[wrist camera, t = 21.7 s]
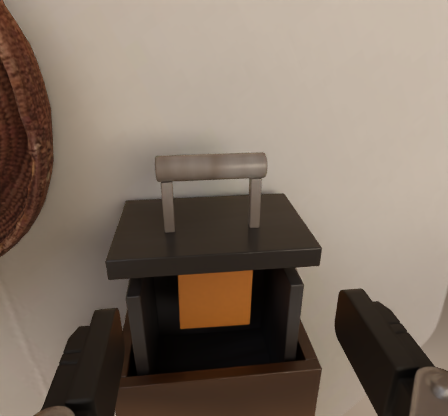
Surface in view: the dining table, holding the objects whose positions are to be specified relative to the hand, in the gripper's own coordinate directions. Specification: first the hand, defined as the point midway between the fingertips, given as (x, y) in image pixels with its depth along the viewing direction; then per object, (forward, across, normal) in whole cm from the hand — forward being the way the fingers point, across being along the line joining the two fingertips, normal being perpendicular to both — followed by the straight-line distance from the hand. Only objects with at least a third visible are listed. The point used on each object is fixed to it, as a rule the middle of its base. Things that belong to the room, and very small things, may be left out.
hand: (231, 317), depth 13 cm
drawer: (+14, 0, +5) cm, 15 cm away
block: (+12, 0, +6) cm, 14 cm away
